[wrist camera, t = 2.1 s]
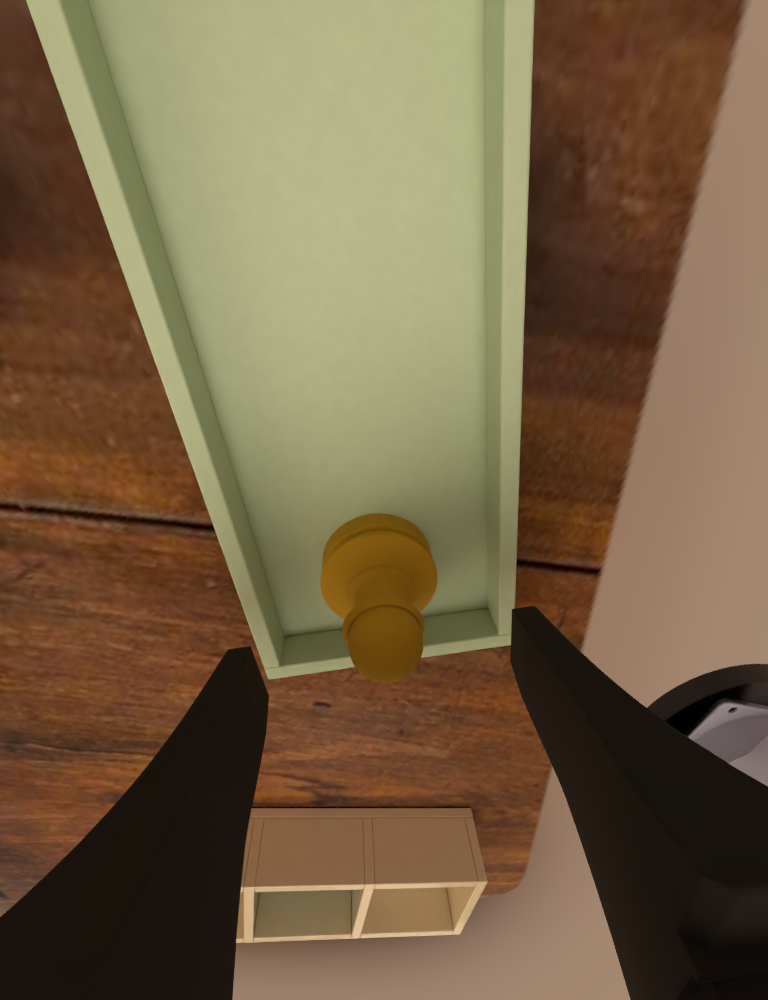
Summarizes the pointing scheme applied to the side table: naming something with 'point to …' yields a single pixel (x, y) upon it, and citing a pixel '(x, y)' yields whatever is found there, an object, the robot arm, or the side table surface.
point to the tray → (324, 276)
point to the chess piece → (380, 592)
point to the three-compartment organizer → (358, 873)
